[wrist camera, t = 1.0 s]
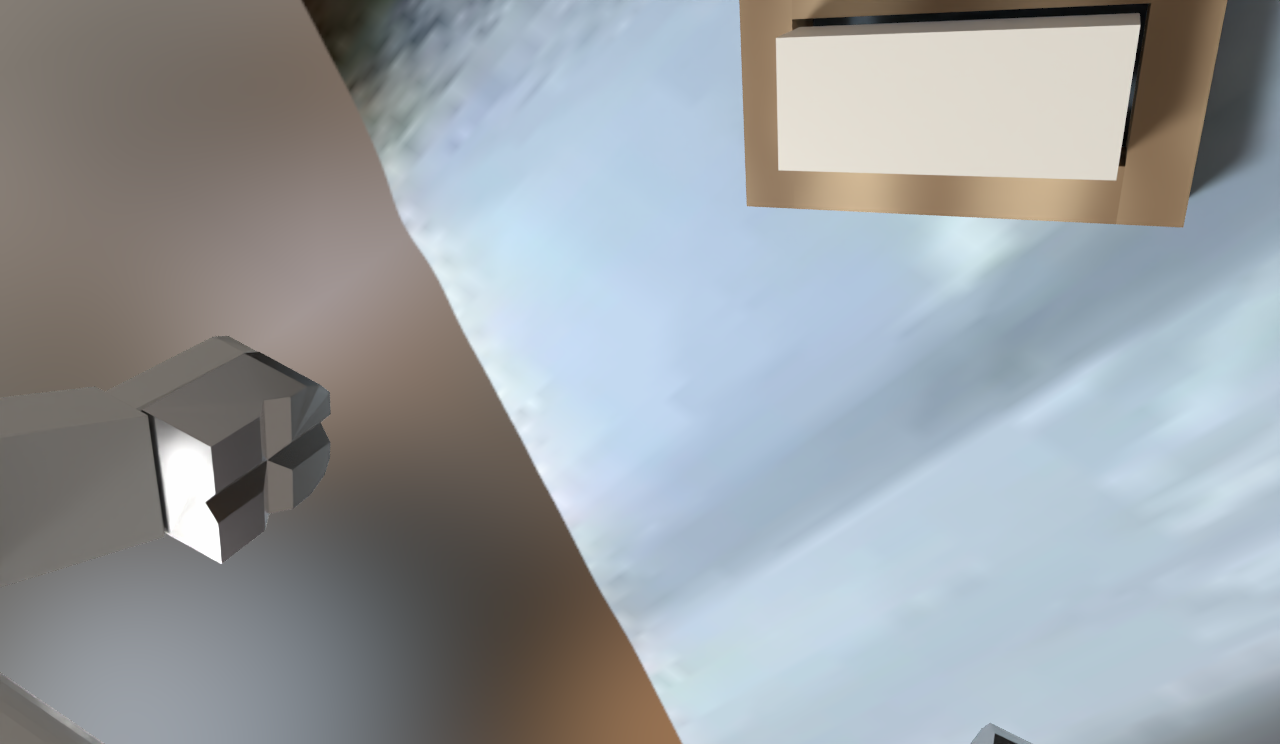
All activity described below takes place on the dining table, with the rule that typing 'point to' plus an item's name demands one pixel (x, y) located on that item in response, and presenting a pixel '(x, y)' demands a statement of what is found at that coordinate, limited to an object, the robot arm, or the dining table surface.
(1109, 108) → the ivory key
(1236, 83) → the dining table surface
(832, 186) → the key console
